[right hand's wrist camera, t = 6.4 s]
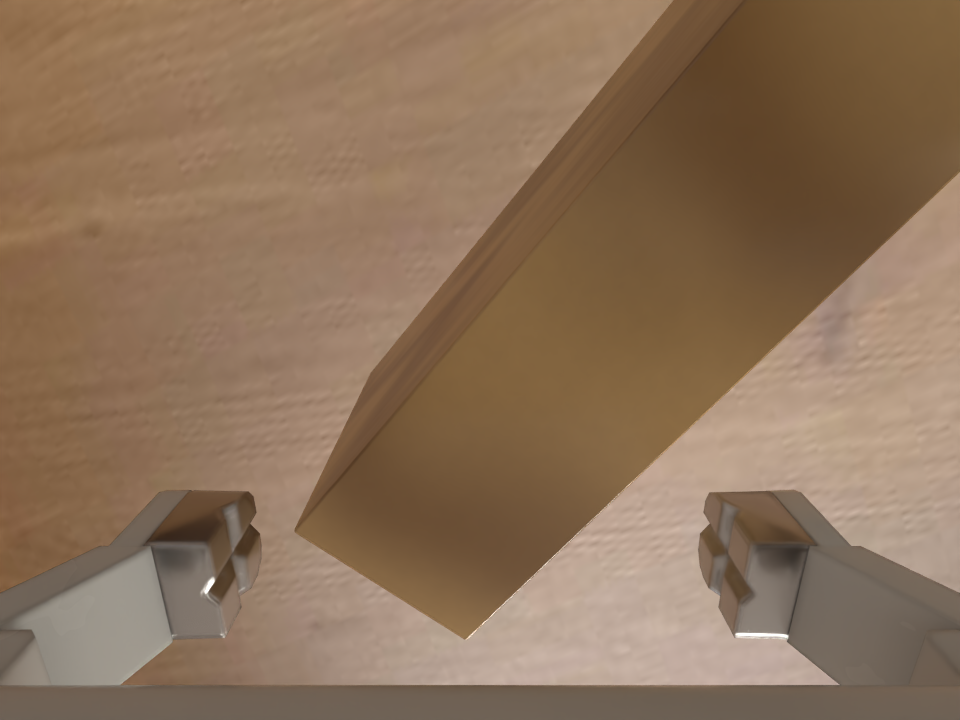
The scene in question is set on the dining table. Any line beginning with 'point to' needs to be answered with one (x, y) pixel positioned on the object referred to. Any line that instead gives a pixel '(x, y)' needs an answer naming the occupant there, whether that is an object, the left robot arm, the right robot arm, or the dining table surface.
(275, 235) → the dining table surface
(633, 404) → the bar
